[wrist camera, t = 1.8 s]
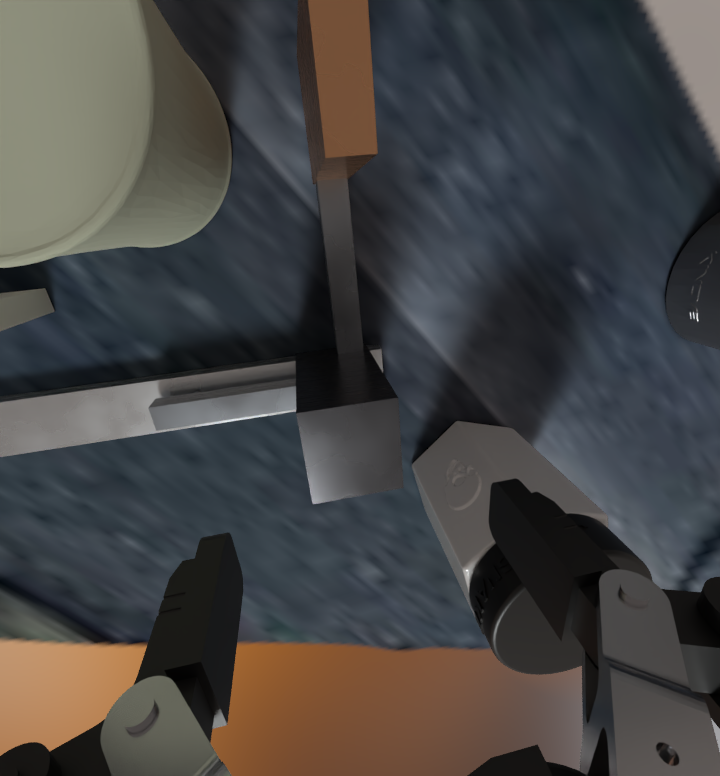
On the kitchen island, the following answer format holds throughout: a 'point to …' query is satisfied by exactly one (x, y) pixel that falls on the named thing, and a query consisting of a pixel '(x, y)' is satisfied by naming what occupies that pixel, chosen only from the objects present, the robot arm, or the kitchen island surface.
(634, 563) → the jar
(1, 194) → the can
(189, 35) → the kitchen island surface
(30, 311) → the frame
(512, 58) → the kitchen island surface
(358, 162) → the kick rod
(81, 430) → the rail
